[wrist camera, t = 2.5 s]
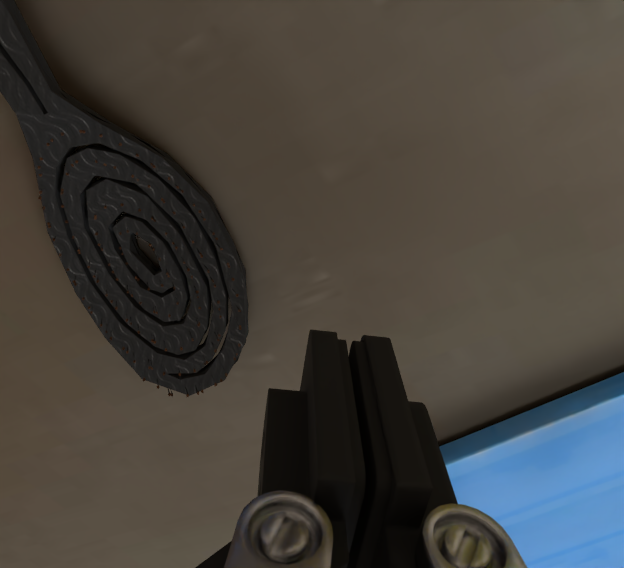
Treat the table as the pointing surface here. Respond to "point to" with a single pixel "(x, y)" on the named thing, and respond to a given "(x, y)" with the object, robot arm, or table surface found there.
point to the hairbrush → (128, 229)
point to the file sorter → (552, 478)
